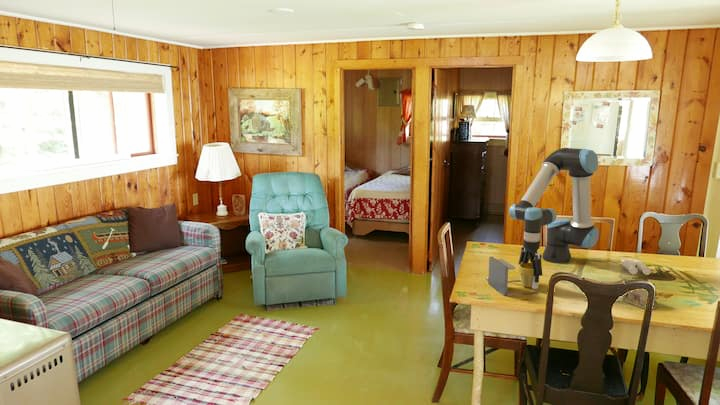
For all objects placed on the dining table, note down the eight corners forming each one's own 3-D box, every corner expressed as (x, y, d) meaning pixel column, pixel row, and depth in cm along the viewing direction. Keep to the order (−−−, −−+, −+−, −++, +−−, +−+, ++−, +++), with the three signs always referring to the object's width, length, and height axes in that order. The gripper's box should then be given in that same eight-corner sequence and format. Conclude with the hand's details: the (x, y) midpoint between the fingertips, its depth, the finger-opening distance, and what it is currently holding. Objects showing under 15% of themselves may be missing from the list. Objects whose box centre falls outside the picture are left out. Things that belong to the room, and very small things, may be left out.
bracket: (519, 280, 250) (521, 253, 247) (538, 293, 233) (540, 264, 230) (487, 283, 246) (488, 256, 243) (504, 296, 230) (506, 267, 227)
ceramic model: (662, 304, 219) (664, 283, 217) (653, 311, 212) (655, 289, 210) (628, 295, 229) (630, 275, 227) (618, 302, 222) (620, 281, 220)
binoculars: (629, 274, 256) (629, 266, 255) (618, 264, 272) (619, 256, 271) (651, 275, 254) (651, 267, 254) (639, 265, 270) (640, 257, 269)
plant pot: (541, 289, 235) (543, 269, 233) (519, 288, 237) (520, 268, 235) (538, 281, 245) (539, 262, 243) (516, 280, 247) (517, 261, 245)
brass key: (495, 275, 256) (496, 274, 256) (500, 277, 254) (500, 275, 253) (484, 279, 252) (484, 277, 252) (489, 281, 249) (489, 279, 249)
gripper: (512, 234, 247) (510, 277, 251) (537, 247, 225) (534, 293, 230) (526, 233, 248) (523, 275, 253) (552, 246, 227) (549, 292, 231)
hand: (529, 284), depth 241 cm, fingers closed on plant pot, 10 cm apart
